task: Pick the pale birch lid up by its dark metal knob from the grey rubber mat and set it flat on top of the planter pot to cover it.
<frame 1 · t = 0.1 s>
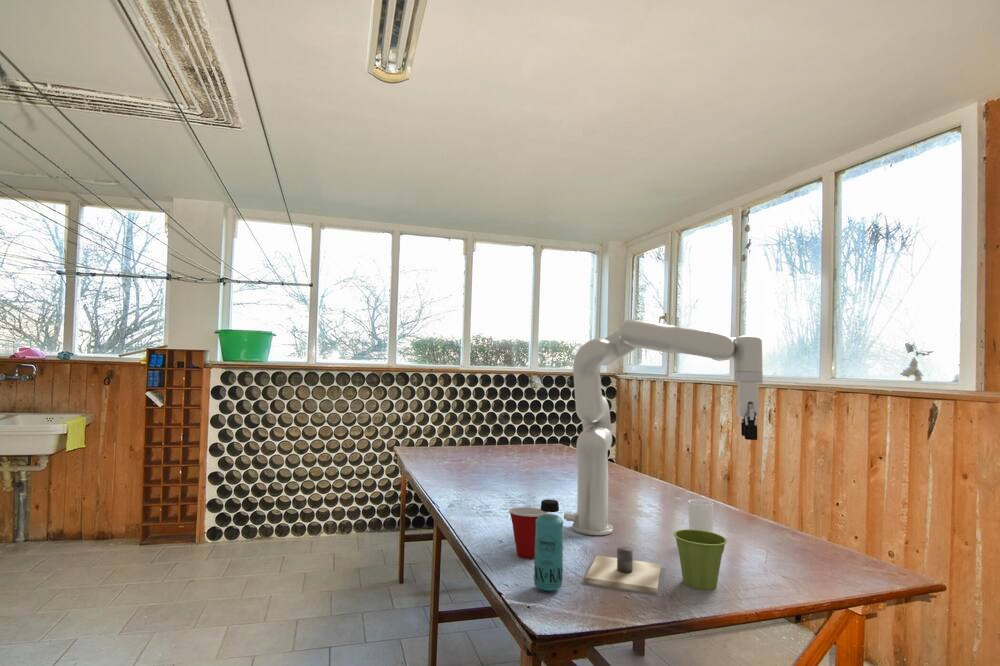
hand: (749, 437, 152), 31 cm above the table, tool pointing down, fingers open, 9 cm apart
lid: (624, 575, 127), resting on mat
mat: (624, 577, 127), on the table
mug: (701, 543, 155), on the table
beverage bottle: (548, 592, 118), on the table
plant pot: (700, 586, 123), on the table
plastic cup: (528, 555, 141), on the table
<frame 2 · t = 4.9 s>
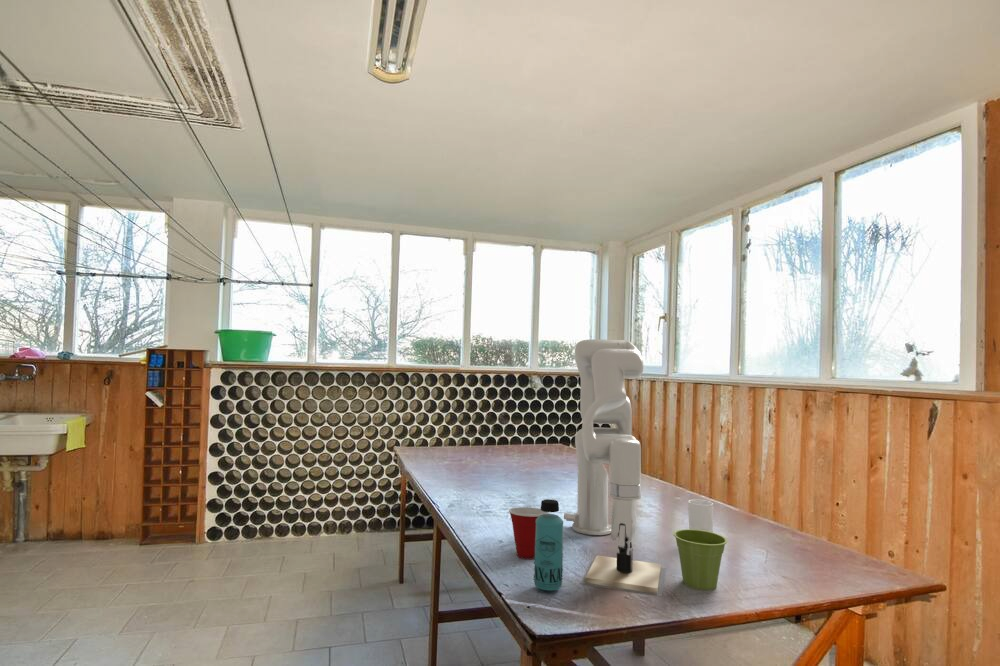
hand: (624, 567, 127), 2 cm above the table, tool pointing down, fingers closed on lid, 3 cm apart
lid: (624, 575, 127), resting on mat, touching gripper
everything else where it was.
when the fingers open (14 cm above the table, at t = 10.0 s): lid drops 1 cm, resting on plant pot.
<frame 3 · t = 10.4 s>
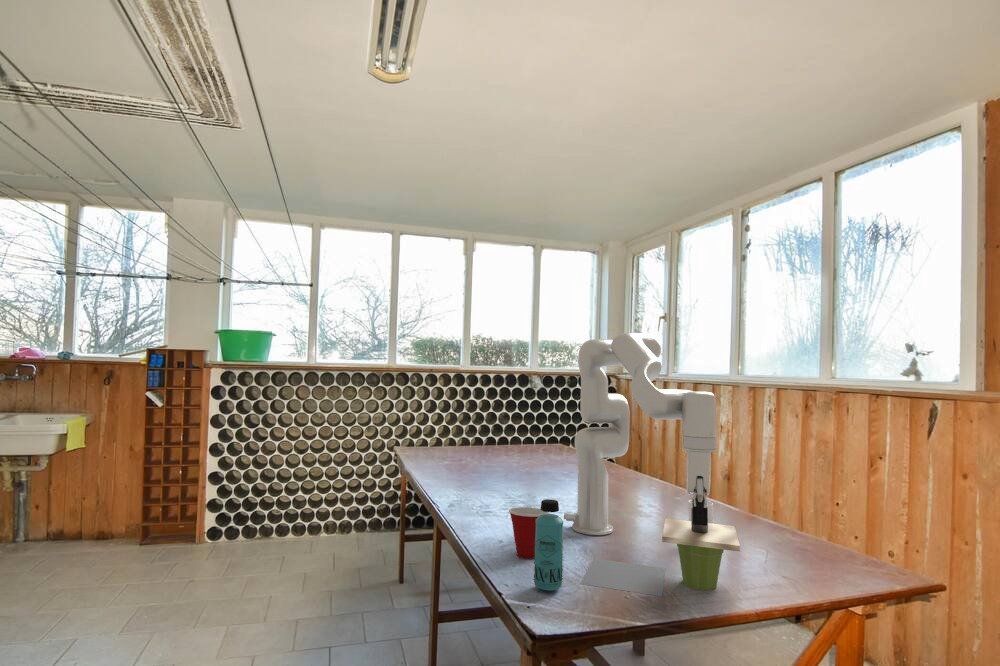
hand: (699, 519, 124), 15 cm above the table, tool pointing down, fingers open, 7 cm apart
lid: (699, 536, 124), point 11 cm above the table, touching plant pot
plant pot: (700, 586, 123), on the table, touching lid
everything else where it was.
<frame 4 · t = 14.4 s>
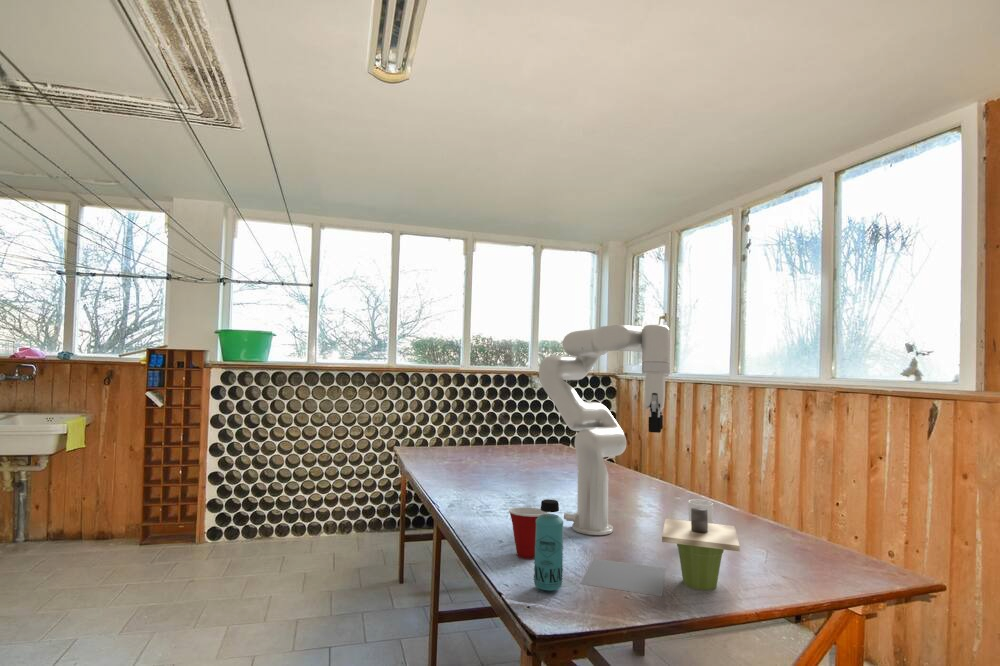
hand: (655, 430, 147), 33 cm above the table, tool pointing down, fingers open, 9 cm apart
nothing on the table moved.
at the end: lid 0.1 cm from the plant pot (horizontally); lid point 11.2 cm above the table; lid tilted 0° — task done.
